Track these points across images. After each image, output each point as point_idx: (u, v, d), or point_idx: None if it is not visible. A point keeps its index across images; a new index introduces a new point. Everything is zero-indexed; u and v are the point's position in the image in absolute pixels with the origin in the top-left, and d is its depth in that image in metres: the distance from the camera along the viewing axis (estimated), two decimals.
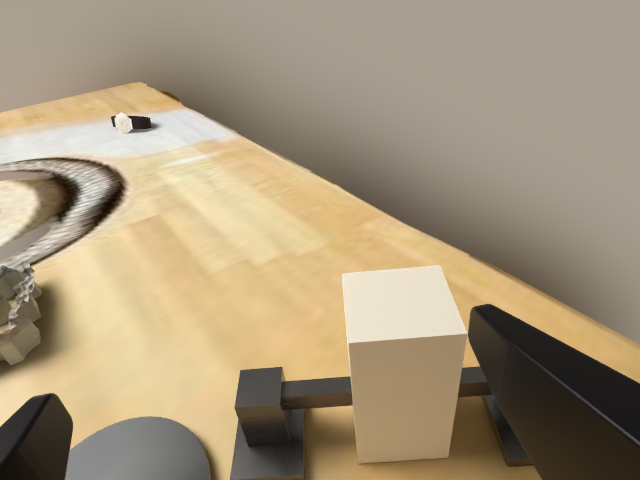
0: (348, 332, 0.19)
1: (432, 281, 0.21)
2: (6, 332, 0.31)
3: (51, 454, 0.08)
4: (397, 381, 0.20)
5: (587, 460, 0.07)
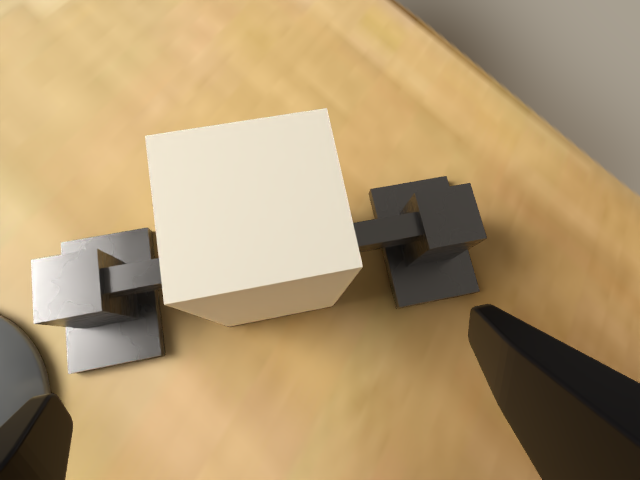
0: (163, 280, 0.11)
1: (312, 149, 0.12)
2: None
3: (51, 454, 0.08)
4: (260, 301, 0.13)
5: (587, 460, 0.07)
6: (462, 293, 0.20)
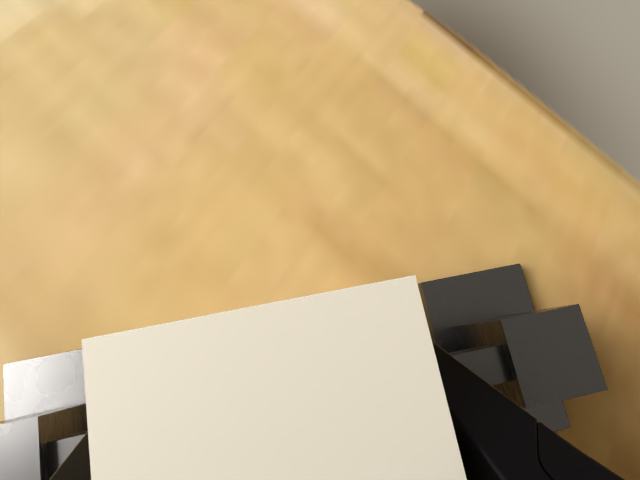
0: None
1: (392, 360, 0.06)
2: None
3: None
4: None
5: None
6: None
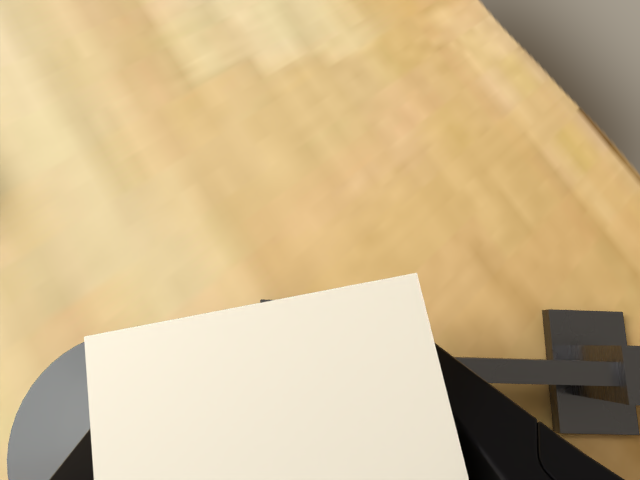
0: None
1: (393, 358, 0.06)
2: None
3: None
4: None
5: None
6: (622, 433, 0.21)
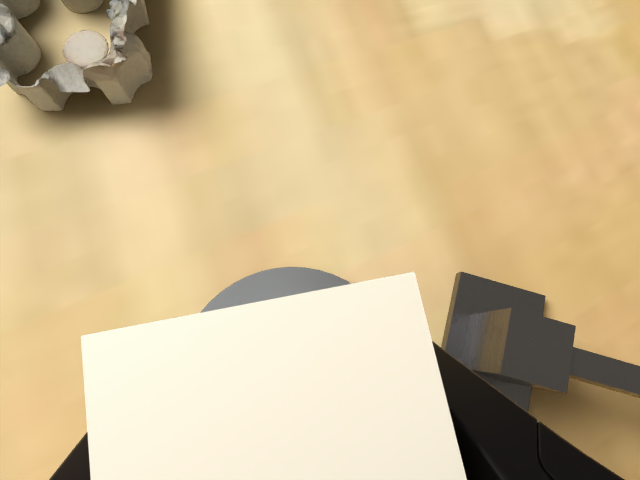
0: None
1: (391, 357, 0.06)
2: (109, 63, 0.19)
3: None
4: None
5: None
6: None
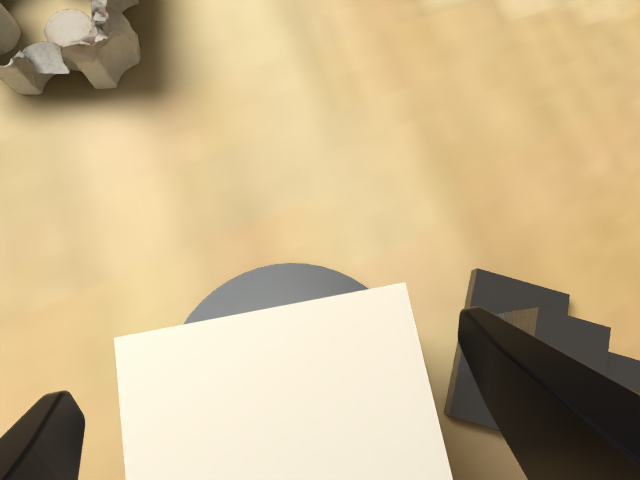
0: None
1: (384, 357, 0.07)
2: (89, 42, 0.17)
3: (64, 451, 0.08)
4: None
5: (573, 465, 0.07)
6: None
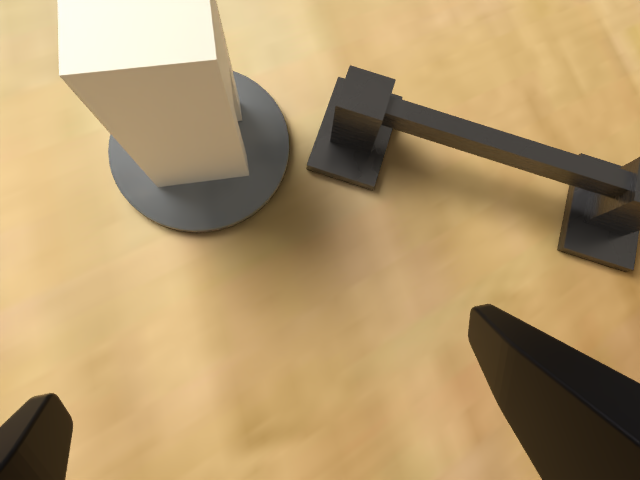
0: (60, 59, 0.14)
1: None
2: None
3: (51, 454, 0.08)
4: (155, 114, 0.17)
5: (587, 460, 0.07)
6: (618, 264, 0.24)
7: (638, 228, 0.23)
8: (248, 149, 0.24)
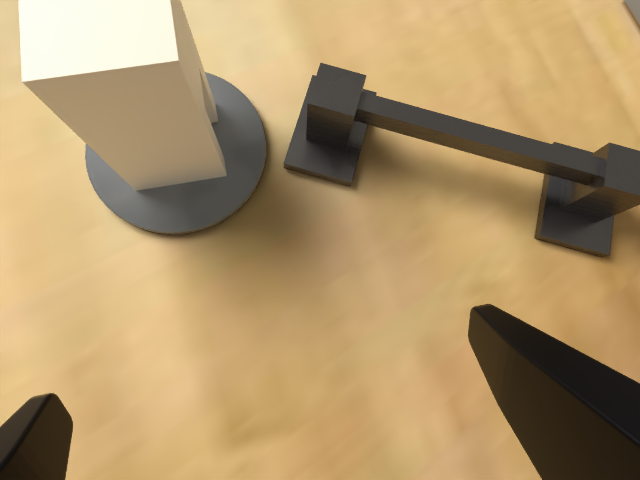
0: (23, 65, 0.14)
1: None
2: None
3: (51, 454, 0.08)
4: (123, 117, 0.17)
5: (587, 460, 0.07)
6: (594, 249, 0.24)
7: (612, 213, 0.23)
8: (225, 150, 0.24)
